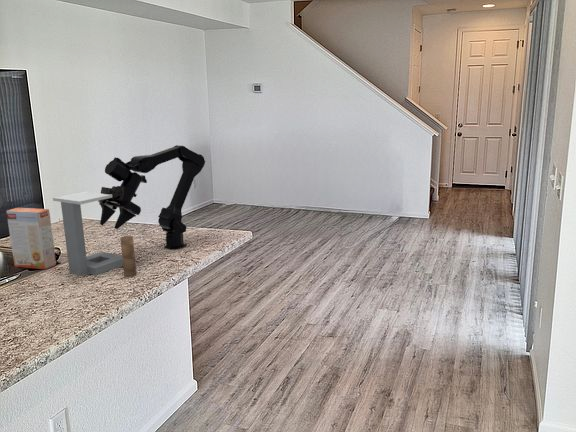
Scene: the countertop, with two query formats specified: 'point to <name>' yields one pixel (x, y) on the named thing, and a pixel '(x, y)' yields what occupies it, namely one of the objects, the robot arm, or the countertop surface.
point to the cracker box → (31, 238)
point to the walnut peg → (128, 256)
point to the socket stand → (75, 237)
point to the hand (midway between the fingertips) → (108, 226)
